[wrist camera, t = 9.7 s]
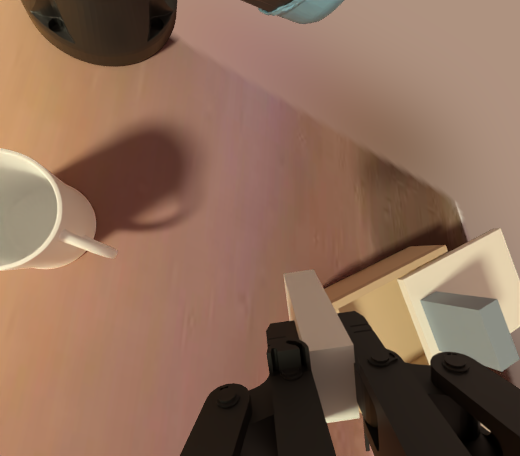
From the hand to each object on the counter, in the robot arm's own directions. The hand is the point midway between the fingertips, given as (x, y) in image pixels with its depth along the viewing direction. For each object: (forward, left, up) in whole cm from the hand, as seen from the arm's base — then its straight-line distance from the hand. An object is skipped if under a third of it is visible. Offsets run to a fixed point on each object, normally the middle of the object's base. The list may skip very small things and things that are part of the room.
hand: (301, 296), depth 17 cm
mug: (-8, -14, -22) cm, 27 cm away
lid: (+9, +27, -16) cm, 33 cm away
